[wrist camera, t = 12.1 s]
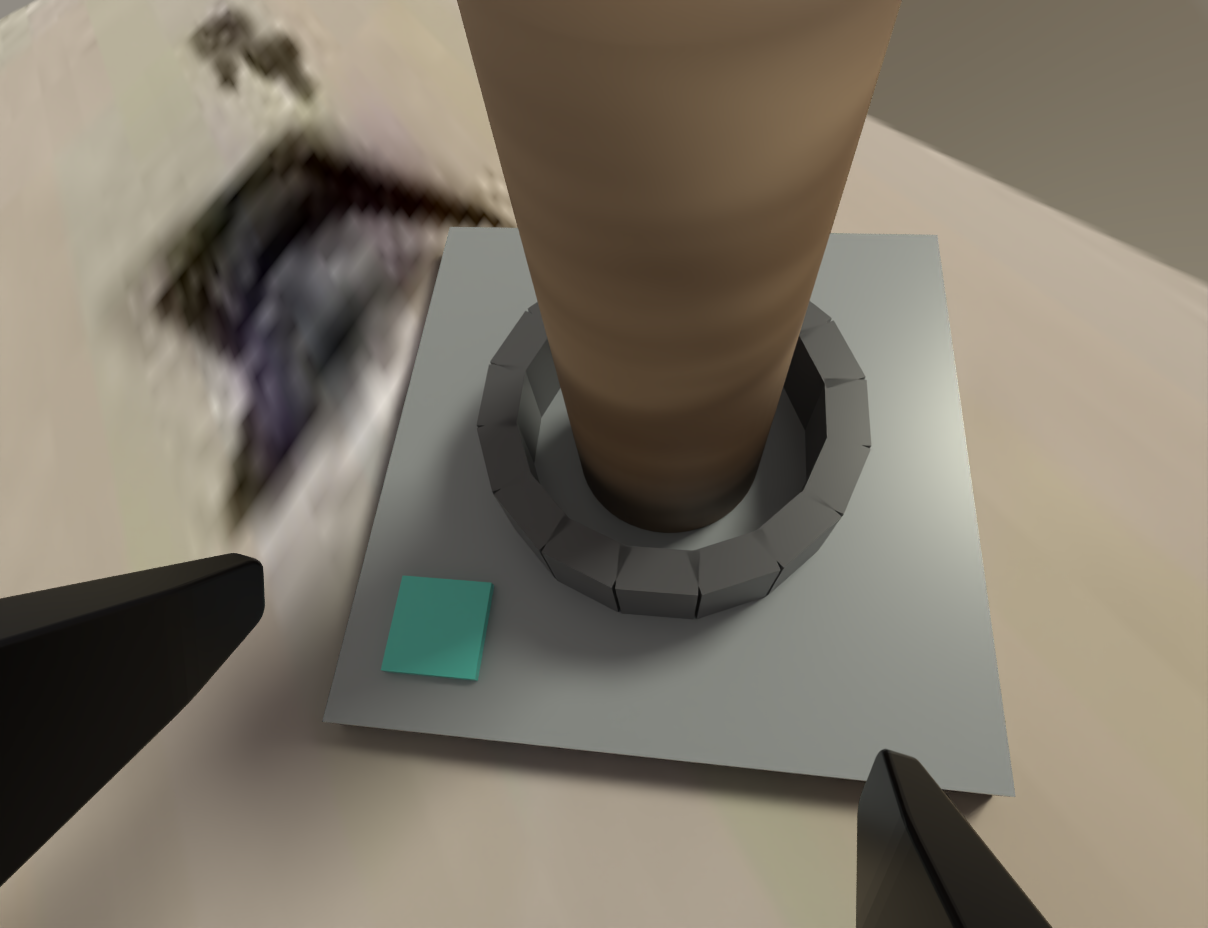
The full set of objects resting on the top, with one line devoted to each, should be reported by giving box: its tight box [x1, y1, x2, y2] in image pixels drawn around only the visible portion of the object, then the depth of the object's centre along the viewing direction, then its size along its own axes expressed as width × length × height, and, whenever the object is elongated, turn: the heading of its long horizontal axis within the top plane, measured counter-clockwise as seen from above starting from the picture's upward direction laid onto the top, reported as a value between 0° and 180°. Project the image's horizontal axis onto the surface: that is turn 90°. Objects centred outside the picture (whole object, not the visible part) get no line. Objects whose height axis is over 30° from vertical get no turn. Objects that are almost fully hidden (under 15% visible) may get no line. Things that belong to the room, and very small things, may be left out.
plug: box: [457, 0, 902, 533], centre depth 13 cm, size 5×5×13 cm
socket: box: [322, 227, 1015, 797], centre depth 18 cm, size 16×16×4 cm
